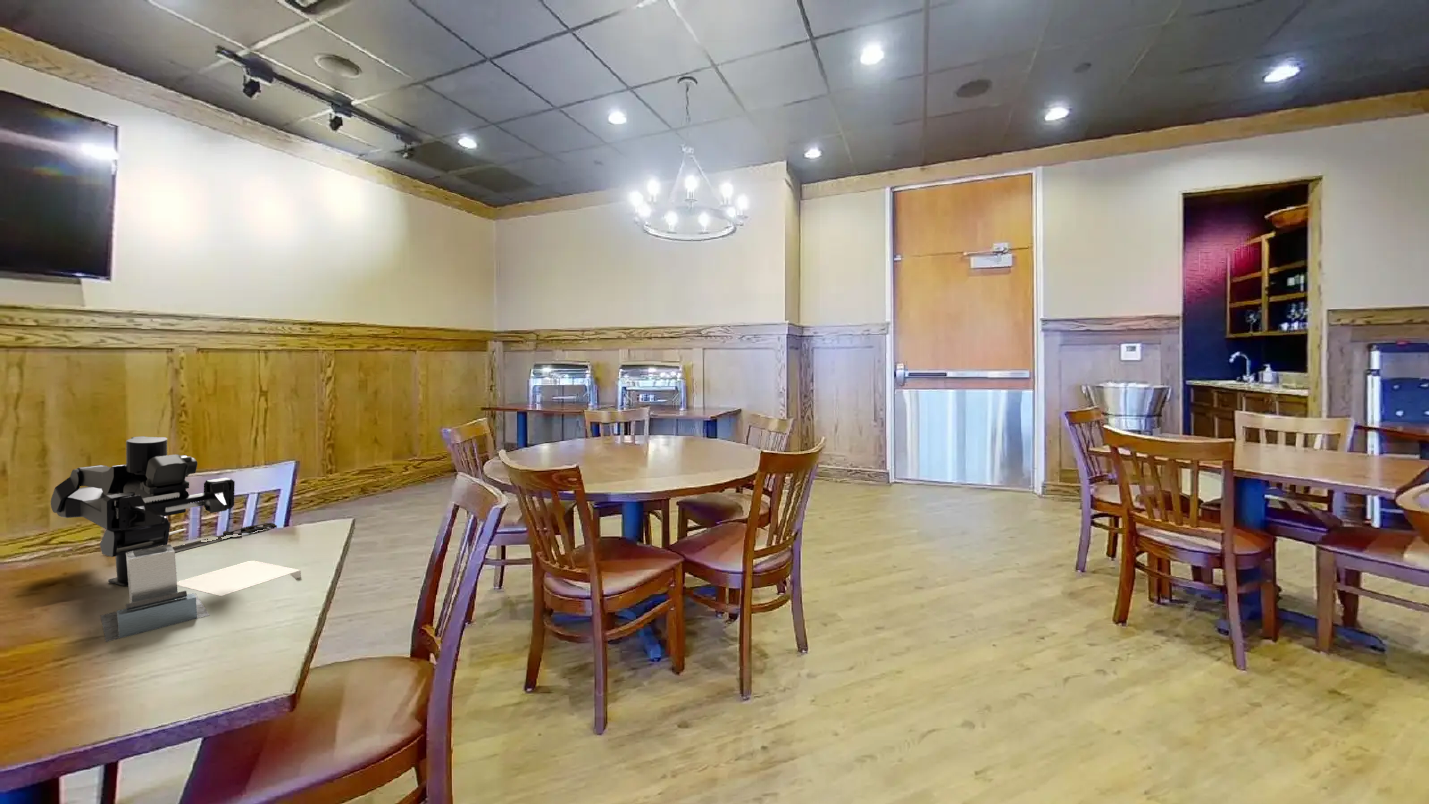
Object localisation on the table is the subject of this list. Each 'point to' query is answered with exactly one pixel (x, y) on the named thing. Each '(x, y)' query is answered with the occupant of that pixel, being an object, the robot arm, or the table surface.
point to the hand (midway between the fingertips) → (195, 513)
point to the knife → (246, 529)
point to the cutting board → (237, 577)
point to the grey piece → (152, 615)
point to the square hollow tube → (151, 573)
